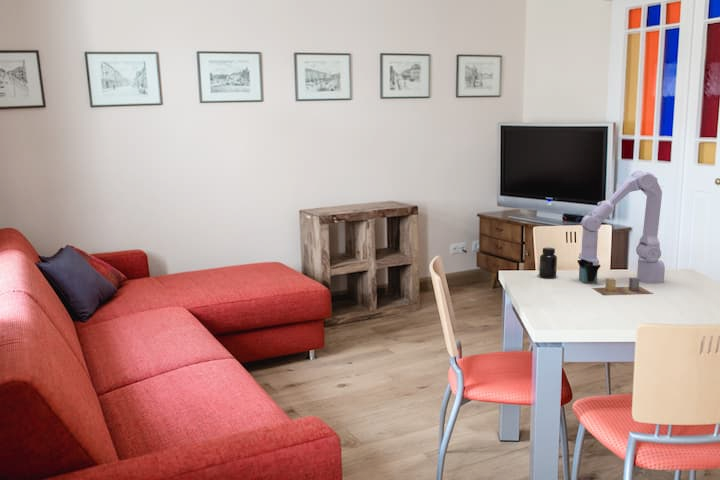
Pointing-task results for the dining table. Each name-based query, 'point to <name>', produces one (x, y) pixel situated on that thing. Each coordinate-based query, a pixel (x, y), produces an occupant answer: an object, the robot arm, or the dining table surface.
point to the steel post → (633, 284)
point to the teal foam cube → (585, 275)
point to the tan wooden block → (610, 285)
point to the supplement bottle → (548, 263)
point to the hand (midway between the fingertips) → (587, 279)
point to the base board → (622, 291)
